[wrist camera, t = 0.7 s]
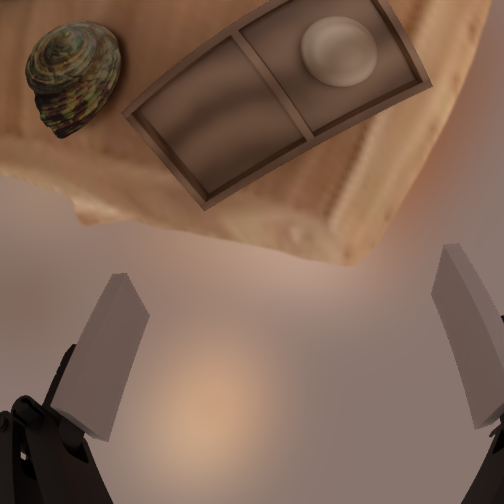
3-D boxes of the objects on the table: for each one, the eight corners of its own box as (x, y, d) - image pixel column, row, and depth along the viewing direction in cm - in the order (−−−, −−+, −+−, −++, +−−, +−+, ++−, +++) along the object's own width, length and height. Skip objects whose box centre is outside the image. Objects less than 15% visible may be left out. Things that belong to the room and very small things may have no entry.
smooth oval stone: (284, 38, 24) (285, 36, 19) (343, 8, 22) (359, -1, 17) (322, 93, 27) (332, 106, 22) (378, 64, 25) (402, 71, 20)
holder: (132, 107, 30) (121, 113, 28) (351, -34, 19) (357, -41, 17) (209, 199, 37) (204, 211, 34) (421, 82, 26) (432, 86, 23)
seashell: (42, 68, 27) (-15, 88, 19) (107, 5, 23) (50, 2, 15) (84, 131, 32) (33, 164, 24) (154, 74, 28) (108, 90, 20)
